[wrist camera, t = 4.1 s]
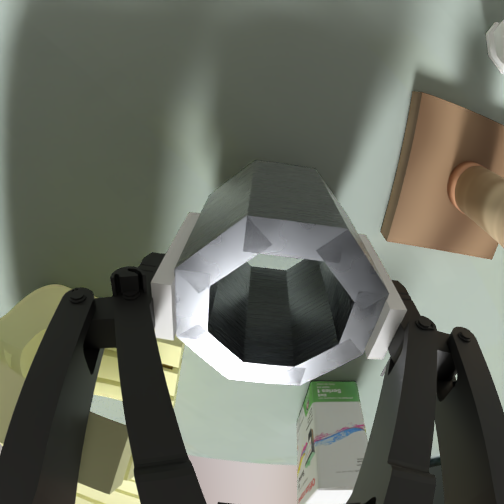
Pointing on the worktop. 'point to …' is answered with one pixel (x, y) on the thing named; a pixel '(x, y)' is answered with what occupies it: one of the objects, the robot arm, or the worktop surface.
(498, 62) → the cup
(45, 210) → the worktop surface
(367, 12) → the worktop surface
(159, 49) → the worktop surface
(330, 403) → the ink box
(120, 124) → the worktop surface
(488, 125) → the post
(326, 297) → the grey hollow octagonal piece
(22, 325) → the slatted curved stool
